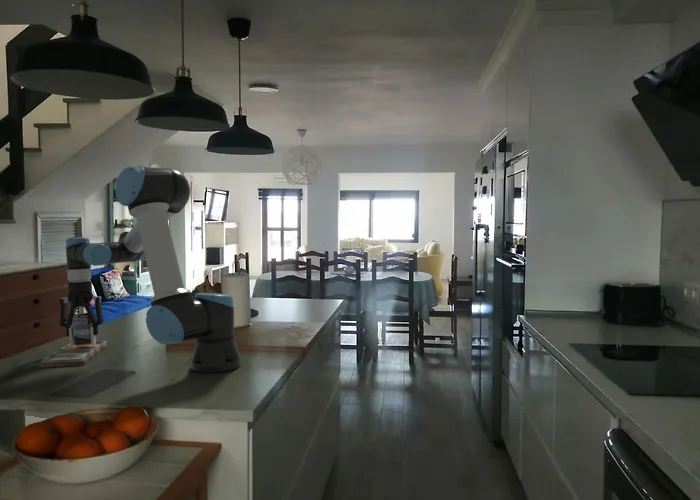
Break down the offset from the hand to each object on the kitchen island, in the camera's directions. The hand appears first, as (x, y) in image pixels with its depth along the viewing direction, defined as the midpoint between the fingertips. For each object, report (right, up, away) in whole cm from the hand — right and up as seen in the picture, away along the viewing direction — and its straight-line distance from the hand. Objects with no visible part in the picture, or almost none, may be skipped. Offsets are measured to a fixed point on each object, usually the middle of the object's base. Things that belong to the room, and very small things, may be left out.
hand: (83, 344), depth 190 cm
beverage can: (0, -1, 0) cm, 1 cm away
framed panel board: (+1, -3, -6) cm, 7 cm away
